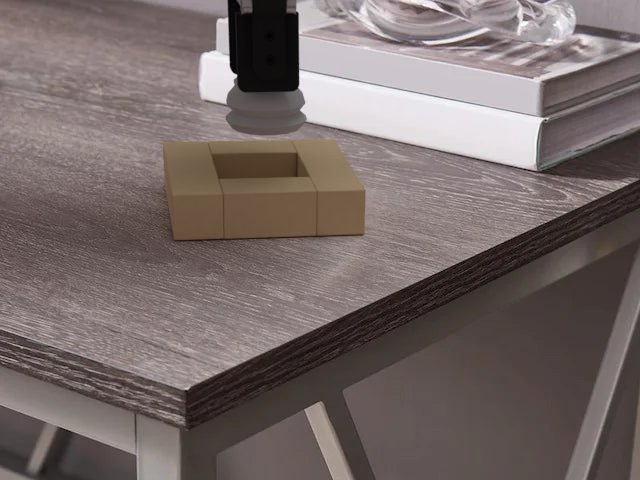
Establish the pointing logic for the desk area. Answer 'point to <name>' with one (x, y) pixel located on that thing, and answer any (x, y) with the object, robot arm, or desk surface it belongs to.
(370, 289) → the desk surface
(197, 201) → the socket pad
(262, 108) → the rook chess piece
